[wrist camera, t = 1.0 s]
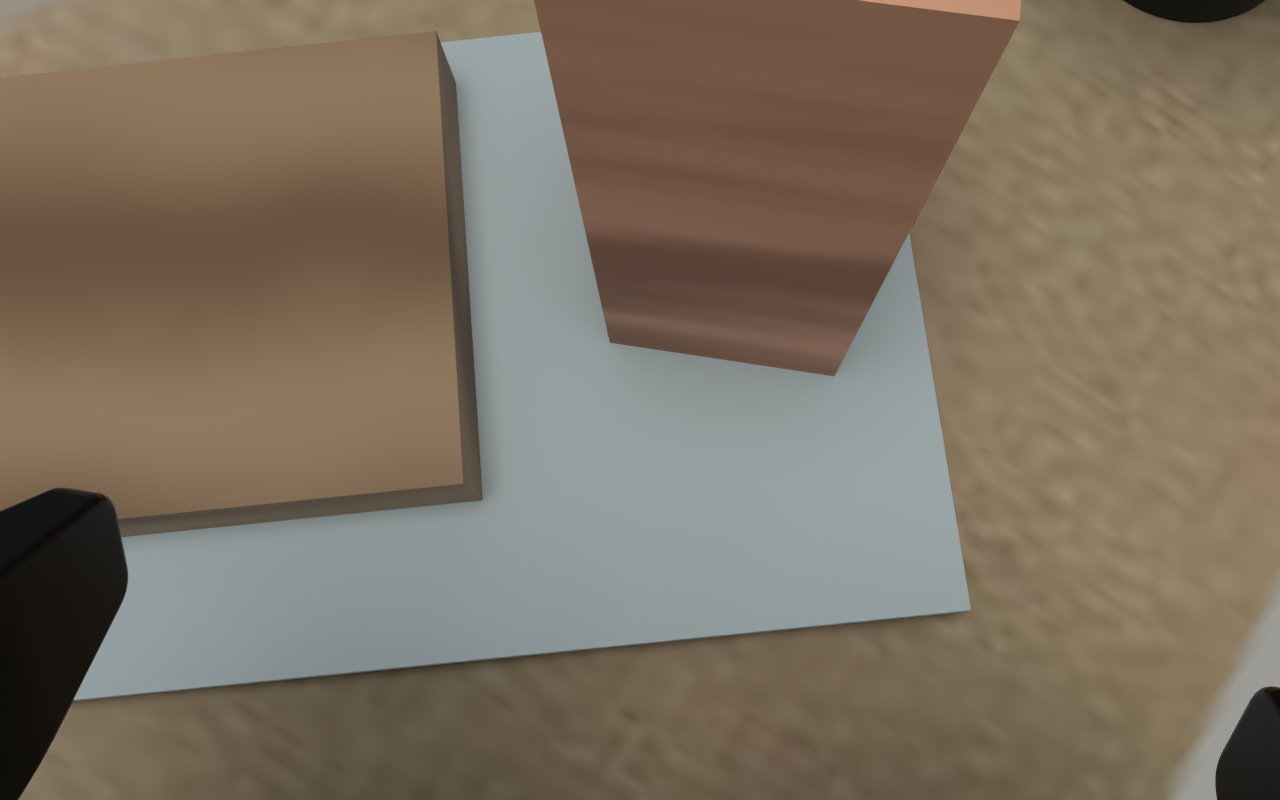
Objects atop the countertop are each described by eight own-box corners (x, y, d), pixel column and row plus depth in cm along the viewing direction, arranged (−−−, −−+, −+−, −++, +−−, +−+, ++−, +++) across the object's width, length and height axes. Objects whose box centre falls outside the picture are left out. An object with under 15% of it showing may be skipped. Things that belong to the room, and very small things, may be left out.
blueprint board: (958, 612, 22) (971, 610, 21) (48, 704, 22) (19, 705, 21) (863, 22, 25) (870, -4, 24) (64, 107, 25) (40, 85, 24)
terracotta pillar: (834, 376, 22) (1018, 20, 10) (610, 343, 22) (524, -42, 10) (861, 168, 23) (1060, -386, 11) (646, 138, 23) (608, -431, 11)
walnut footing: (482, 499, 22) (463, 483, 20) (24, 546, 22) (-39, 534, 20) (456, 82, 24) (435, 31, 22) (38, 127, 24) (-18, 79, 22)
